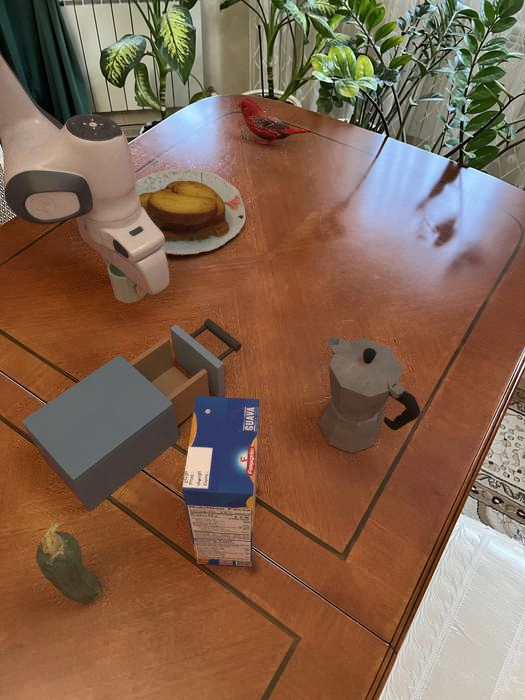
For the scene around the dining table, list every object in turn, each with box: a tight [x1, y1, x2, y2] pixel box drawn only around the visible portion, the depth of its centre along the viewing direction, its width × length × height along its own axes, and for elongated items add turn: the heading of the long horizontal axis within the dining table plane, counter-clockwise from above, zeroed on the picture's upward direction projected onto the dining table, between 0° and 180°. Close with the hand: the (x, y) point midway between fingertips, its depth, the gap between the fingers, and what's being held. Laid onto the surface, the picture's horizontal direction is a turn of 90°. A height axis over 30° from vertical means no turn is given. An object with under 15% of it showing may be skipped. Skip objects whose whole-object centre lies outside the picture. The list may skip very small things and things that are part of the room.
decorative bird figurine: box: [236, 97, 312, 147], centre depth 126 cm, size 3×18×10 cm, turn 67°
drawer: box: [128, 318, 243, 427], centre depth 84 cm, size 20×10×8 cm, turn 136°
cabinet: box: [21, 354, 180, 512], centre depth 78 cm, size 16×12×10 cm
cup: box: [106, 262, 147, 304], centre depth 99 cm, size 6×6×6 cm
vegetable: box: [35, 520, 102, 605], centre depth 62 cm, size 4×4×20 cm
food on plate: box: [135, 167, 247, 256], centre depth 112 cm, size 25×25×7 cm
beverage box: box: [181, 395, 260, 568], centre depth 67 cm, size 7×11×22 cm, turn 177°
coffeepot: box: [318, 336, 421, 454], centre depth 78 cm, size 15×9×18 cm, turn 43°
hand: (128, 282), depth 100 cm, fingers closed on cup, 6 cm apart
